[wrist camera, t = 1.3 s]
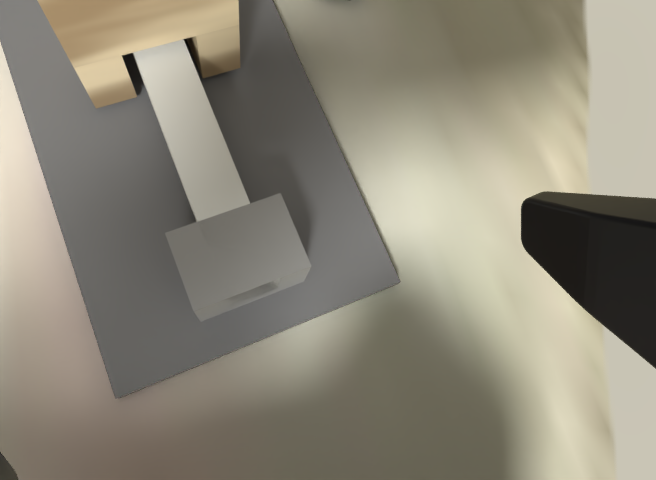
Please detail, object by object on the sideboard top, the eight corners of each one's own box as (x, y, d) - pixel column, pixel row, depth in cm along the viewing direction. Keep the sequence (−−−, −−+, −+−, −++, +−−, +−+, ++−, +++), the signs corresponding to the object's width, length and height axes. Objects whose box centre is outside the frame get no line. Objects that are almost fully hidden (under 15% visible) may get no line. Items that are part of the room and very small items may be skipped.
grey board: (396, 284, 23) (421, 265, 20) (119, 398, 20) (93, 399, 17) (168, -220, 29) (158, -300, 26) (-70, -185, 26) (-117, -270, 23)
